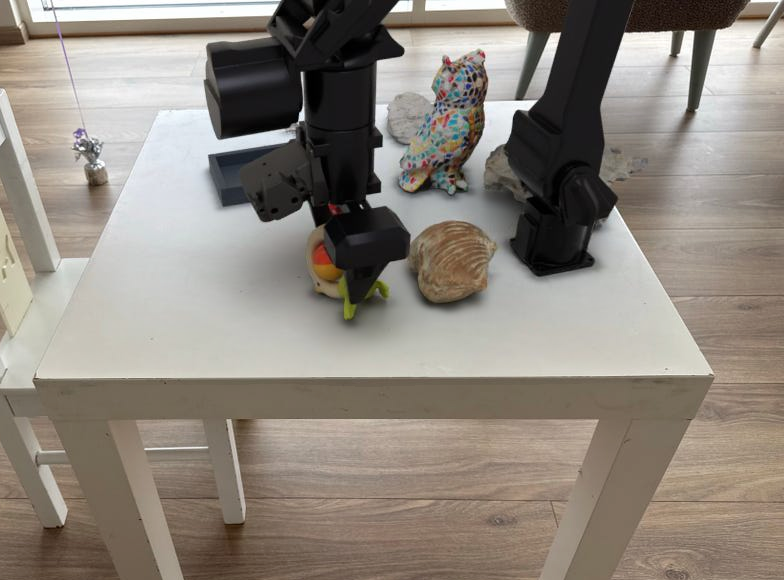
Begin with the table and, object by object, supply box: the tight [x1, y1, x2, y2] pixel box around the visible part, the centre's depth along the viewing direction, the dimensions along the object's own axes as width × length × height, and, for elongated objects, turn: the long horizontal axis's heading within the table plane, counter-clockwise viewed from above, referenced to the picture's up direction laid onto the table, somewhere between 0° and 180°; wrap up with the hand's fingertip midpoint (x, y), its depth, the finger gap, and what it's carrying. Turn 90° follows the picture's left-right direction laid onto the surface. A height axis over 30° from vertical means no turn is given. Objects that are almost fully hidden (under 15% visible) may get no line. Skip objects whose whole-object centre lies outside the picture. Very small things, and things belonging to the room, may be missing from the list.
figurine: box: [397, 48, 489, 195], centre depth 83 cm, size 9×9×15 cm
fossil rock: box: [482, 143, 649, 227], centre depth 82 cm, size 20×6×15 cm
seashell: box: [406, 219, 499, 304], centre depth 71 cm, size 9×7×8 cm
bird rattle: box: [305, 204, 390, 321], centre depth 69 cm, size 6×11×9 cm
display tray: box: [207, 141, 288, 207], centre depth 89 cm, size 12×9×2 cm
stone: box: [386, 91, 433, 145], centre depth 98 cm, size 10×5×10 cm
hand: (340, 275), depth 70 cm, fingers open, 9 cm apart
